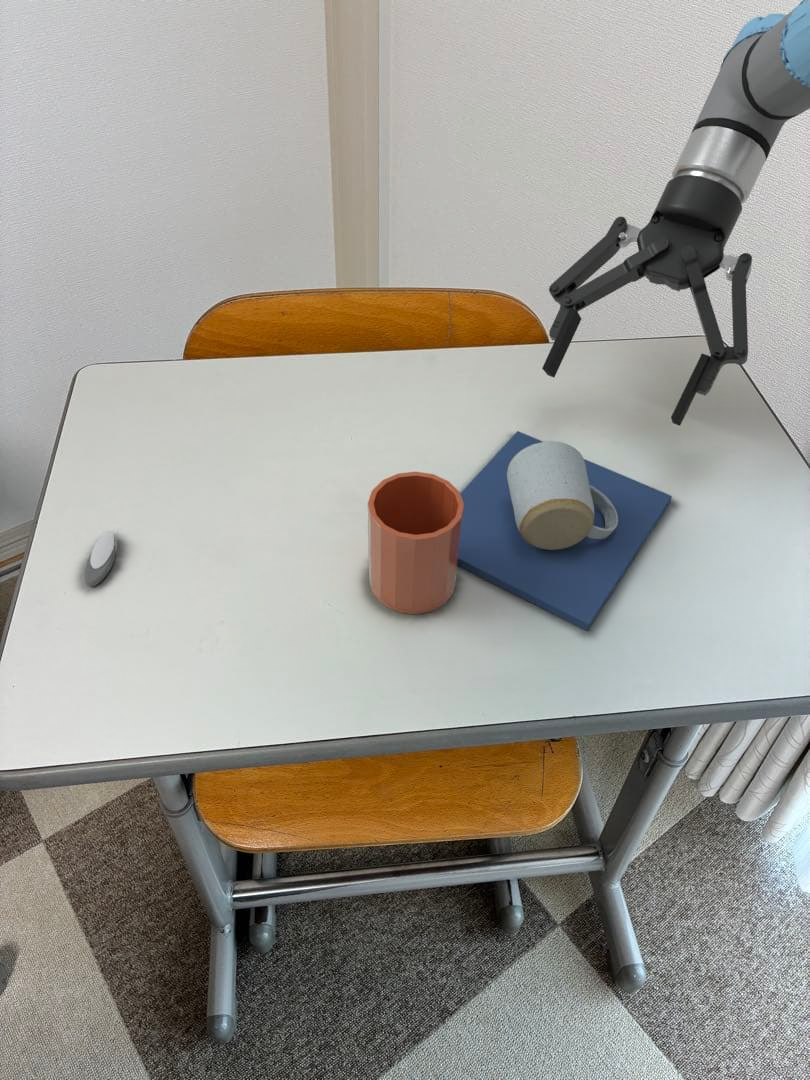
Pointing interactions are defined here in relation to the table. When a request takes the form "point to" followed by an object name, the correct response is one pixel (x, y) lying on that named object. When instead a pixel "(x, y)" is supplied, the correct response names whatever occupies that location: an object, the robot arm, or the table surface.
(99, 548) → the oval pebble
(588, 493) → the ceramic mug
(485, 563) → the blue mat
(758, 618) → the table surface
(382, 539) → the clay cup
